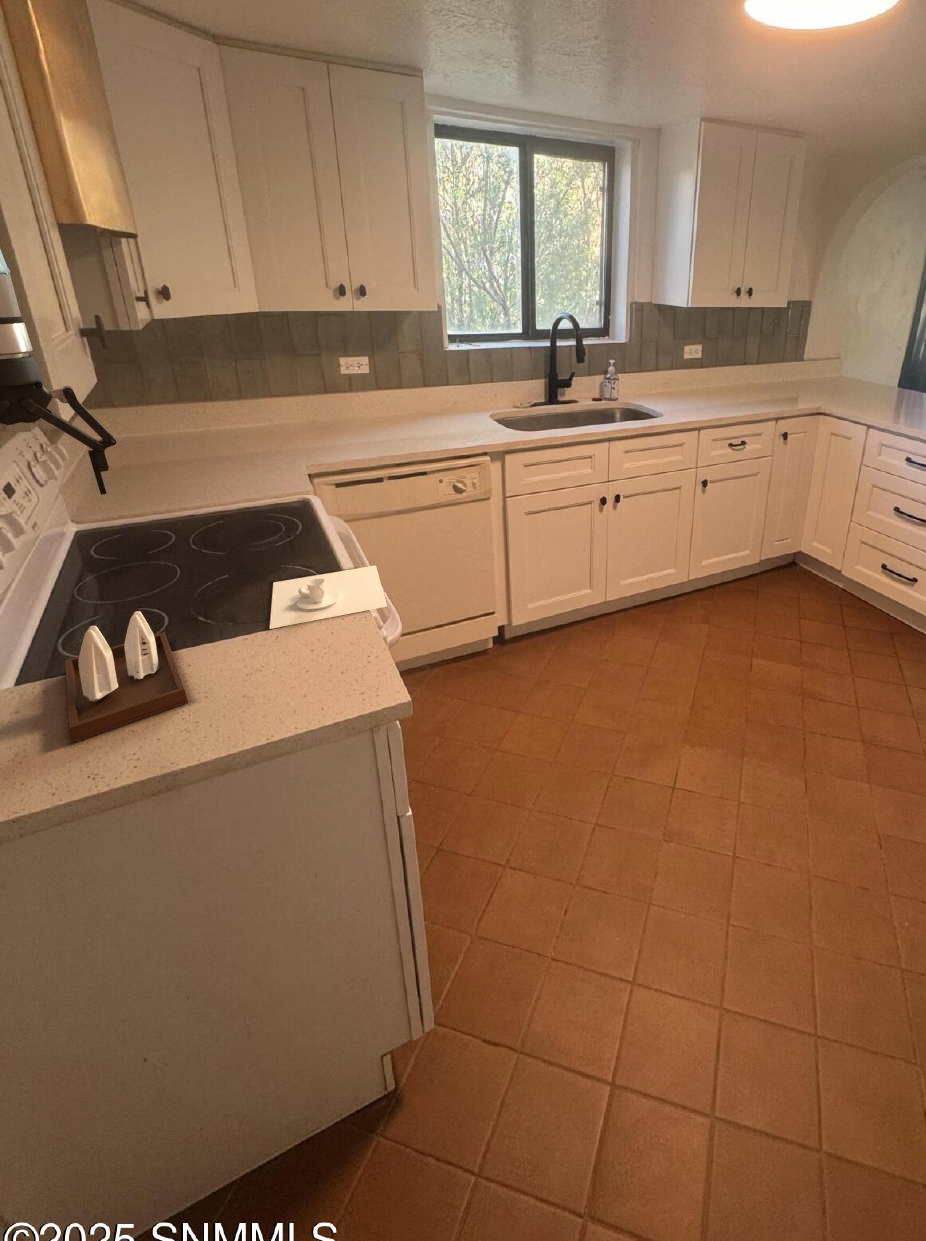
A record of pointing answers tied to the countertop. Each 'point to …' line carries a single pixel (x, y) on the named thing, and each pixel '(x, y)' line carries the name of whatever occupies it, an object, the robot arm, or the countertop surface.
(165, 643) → the tray
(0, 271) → the robot arm
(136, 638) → the shaker set
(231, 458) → the countertop surface
